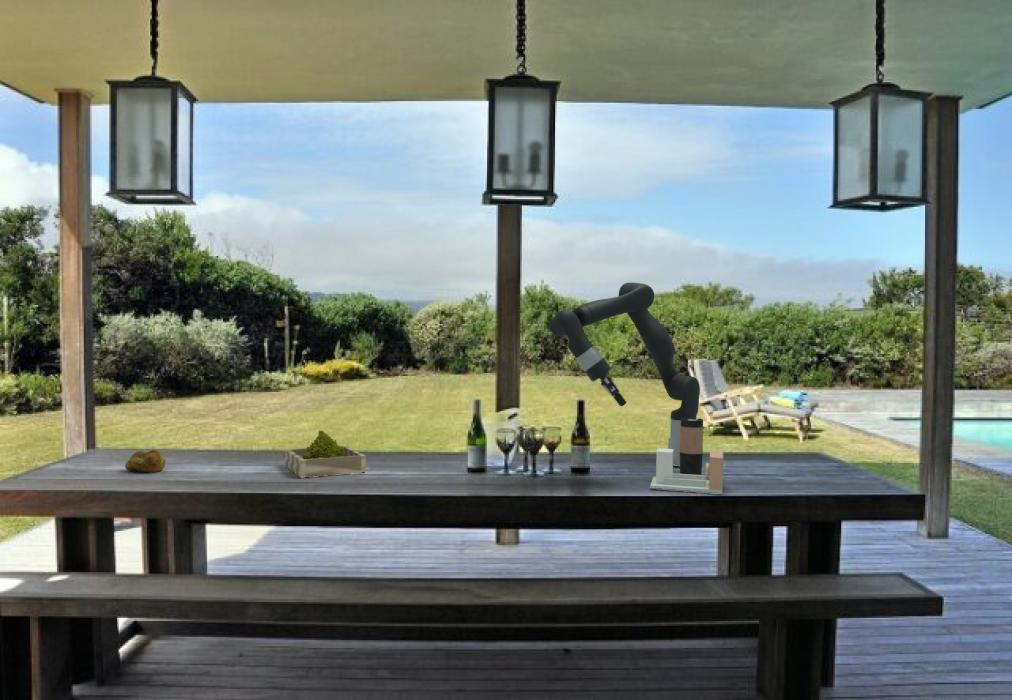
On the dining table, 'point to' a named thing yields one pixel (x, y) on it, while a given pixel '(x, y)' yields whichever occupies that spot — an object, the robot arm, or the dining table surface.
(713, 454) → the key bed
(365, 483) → the dining table surface
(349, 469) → the veg crate
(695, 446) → the travel mug
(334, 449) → the vegetable
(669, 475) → the white rectangular block
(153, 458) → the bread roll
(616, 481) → the dining table surface
